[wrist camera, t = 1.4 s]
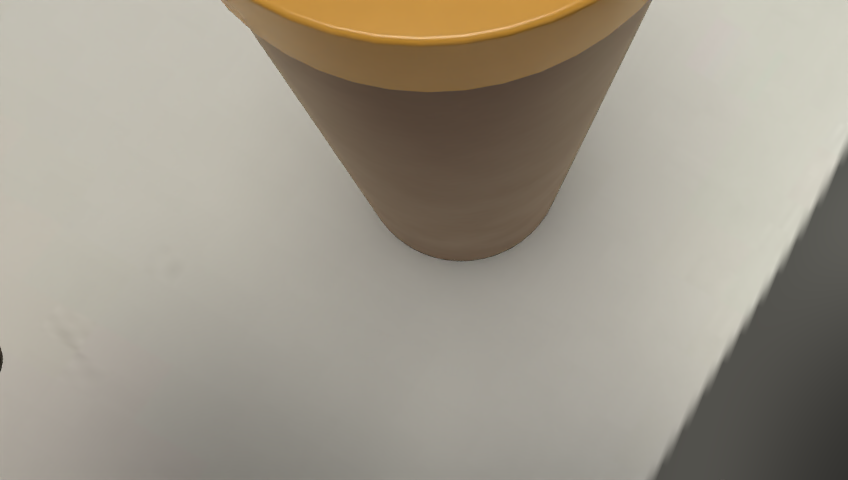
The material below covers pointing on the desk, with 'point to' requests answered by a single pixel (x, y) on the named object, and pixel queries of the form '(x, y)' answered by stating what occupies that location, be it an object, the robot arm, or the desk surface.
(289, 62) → the chocolate tin
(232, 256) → the desk surface
